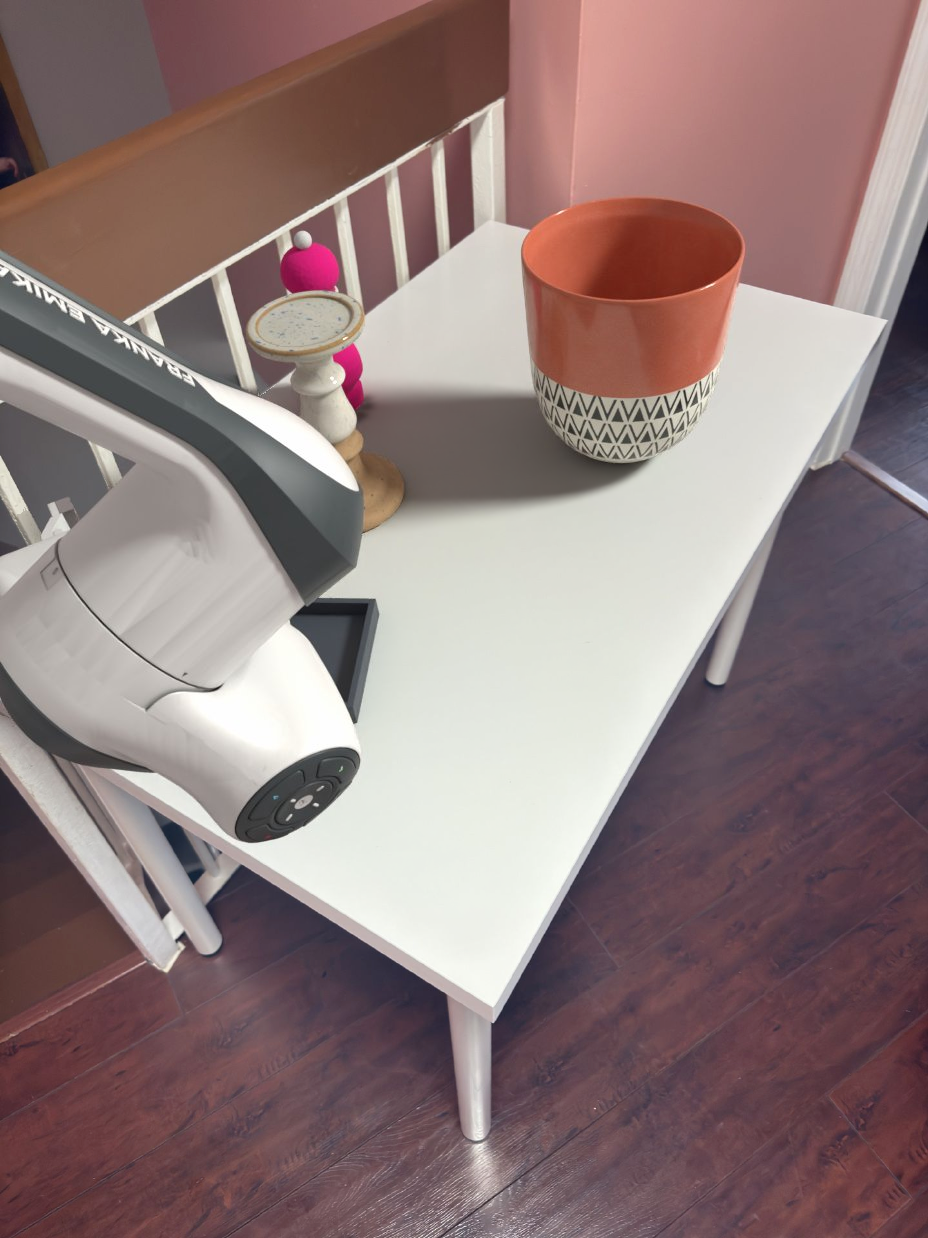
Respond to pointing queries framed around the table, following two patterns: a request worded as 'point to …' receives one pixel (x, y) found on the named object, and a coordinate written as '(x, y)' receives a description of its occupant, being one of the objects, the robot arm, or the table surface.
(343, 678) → the slate tray
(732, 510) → the table surface
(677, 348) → the planter
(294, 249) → the pepper mill
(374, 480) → the candle holder
